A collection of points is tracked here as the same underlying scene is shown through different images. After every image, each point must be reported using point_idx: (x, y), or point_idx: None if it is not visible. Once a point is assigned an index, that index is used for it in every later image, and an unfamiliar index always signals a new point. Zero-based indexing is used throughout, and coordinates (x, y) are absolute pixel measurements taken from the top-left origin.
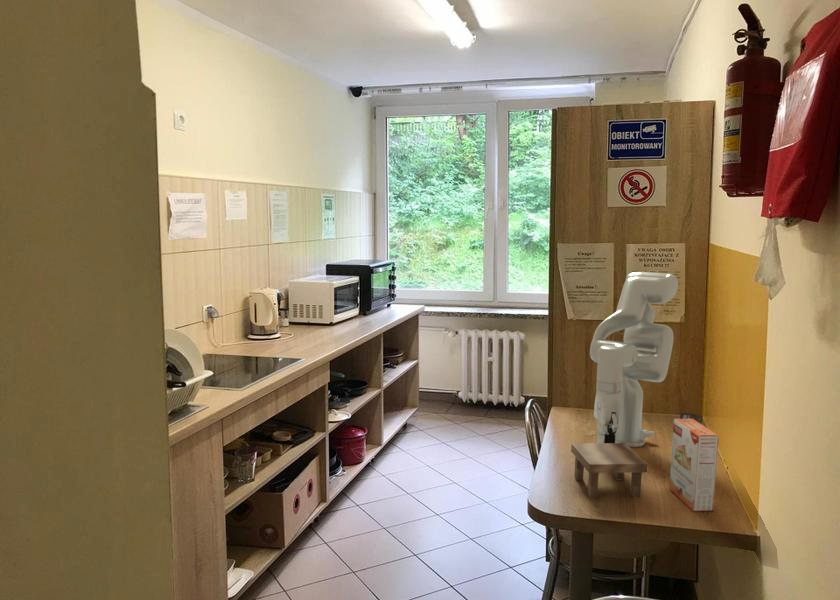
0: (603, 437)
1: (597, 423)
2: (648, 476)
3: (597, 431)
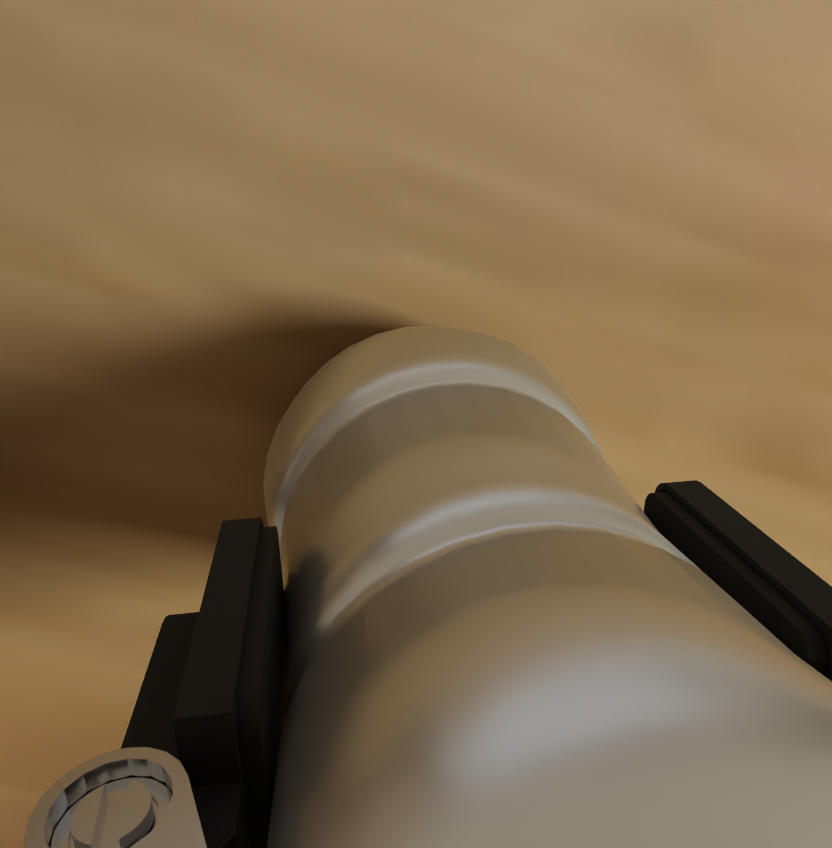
0: (324, 609)
1: (718, 754)
2: (28, 797)
3: (609, 551)
